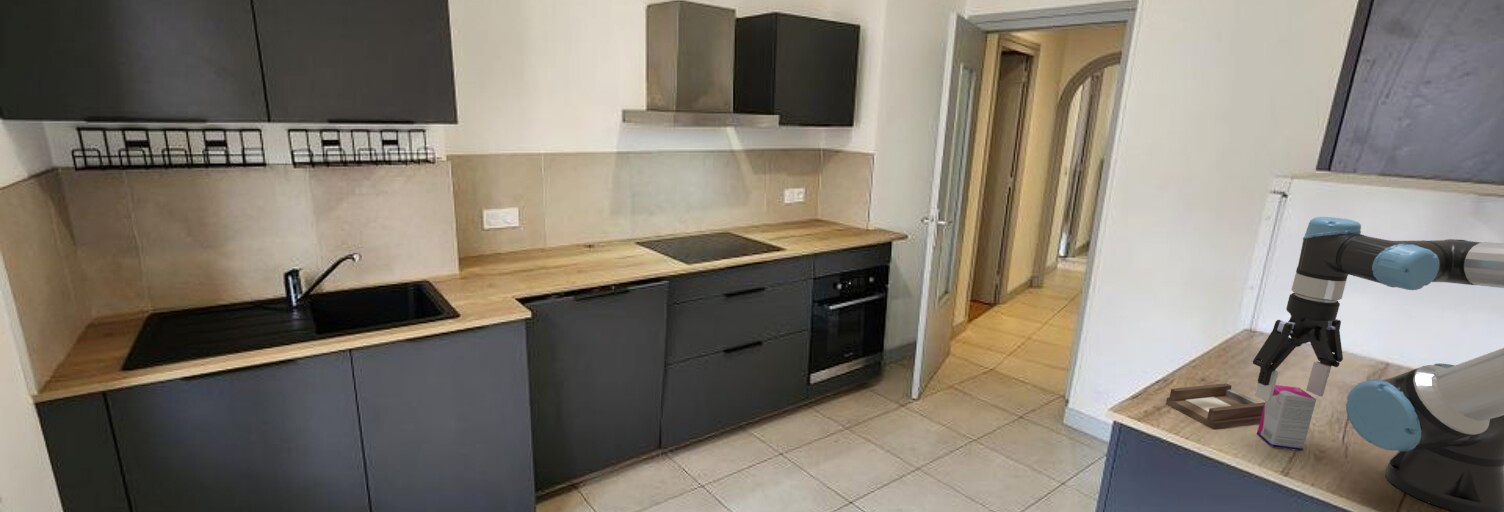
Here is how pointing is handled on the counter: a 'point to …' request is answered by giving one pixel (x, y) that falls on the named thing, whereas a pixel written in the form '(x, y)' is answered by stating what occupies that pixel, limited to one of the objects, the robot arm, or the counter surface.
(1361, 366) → the counter surface
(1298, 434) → the supplement box
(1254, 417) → the brown wooden tray
